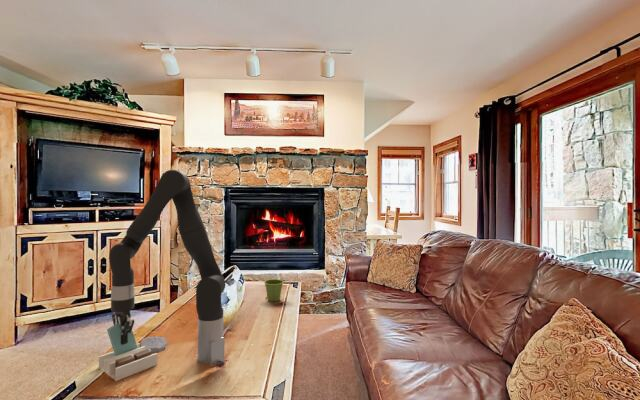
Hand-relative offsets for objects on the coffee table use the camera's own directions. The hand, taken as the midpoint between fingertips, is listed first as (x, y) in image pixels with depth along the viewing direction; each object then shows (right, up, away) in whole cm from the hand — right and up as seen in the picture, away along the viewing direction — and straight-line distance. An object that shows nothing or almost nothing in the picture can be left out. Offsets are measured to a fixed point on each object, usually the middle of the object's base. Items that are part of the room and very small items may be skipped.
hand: (122, 342), depth 126 cm
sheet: (+1, -6, +2) cm, 7 cm away
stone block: (+5, -9, +13) cm, 17 cm away
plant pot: (+45, -8, +81) cm, 93 cm away
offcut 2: (+9, -7, -3) cm, 12 cm away
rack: (+4, -9, -3) cm, 10 cm away
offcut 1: (+5, -7, -8) cm, 12 cm away
